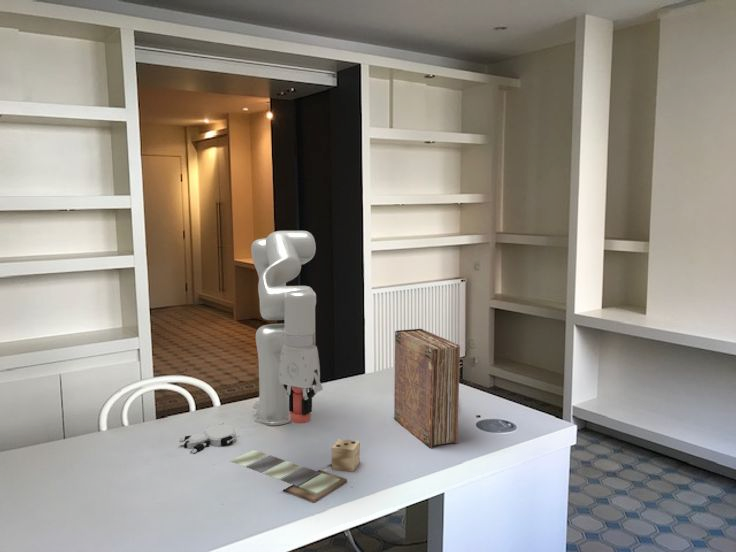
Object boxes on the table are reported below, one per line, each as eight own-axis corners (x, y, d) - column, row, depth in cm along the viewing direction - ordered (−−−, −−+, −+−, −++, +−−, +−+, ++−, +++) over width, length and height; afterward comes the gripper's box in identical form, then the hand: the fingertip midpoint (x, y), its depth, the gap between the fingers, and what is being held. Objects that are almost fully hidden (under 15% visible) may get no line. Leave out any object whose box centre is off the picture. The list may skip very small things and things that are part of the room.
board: (222, 467, 158) (221, 462, 158) (257, 451, 169) (257, 446, 169) (313, 502, 140) (313, 497, 140) (346, 482, 151) (346, 476, 151)
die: (331, 469, 158) (331, 447, 157) (338, 459, 164) (338, 438, 163) (353, 471, 157) (353, 449, 156) (359, 462, 162) (359, 440, 162)
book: (457, 444, 175) (460, 345, 172) (430, 449, 172) (432, 348, 168) (418, 416, 198) (420, 328, 195) (393, 419, 195) (395, 330, 191)
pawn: (286, 420, 148) (285, 377, 147) (299, 414, 152) (299, 372, 151) (301, 424, 145) (301, 380, 144) (314, 419, 150) (314, 375, 148)
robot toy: (192, 463, 163) (242, 447, 172) (190, 448, 162) (241, 432, 171) (177, 448, 173) (226, 433, 182) (176, 434, 172) (224, 419, 181)
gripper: (265, 338, 148) (266, 409, 150) (316, 347, 139) (316, 423, 141) (285, 333, 154) (286, 401, 156) (335, 342, 145) (335, 414, 147)
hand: (300, 411), depth 149 cm, fingers closed on pawn, 3 cm apart
